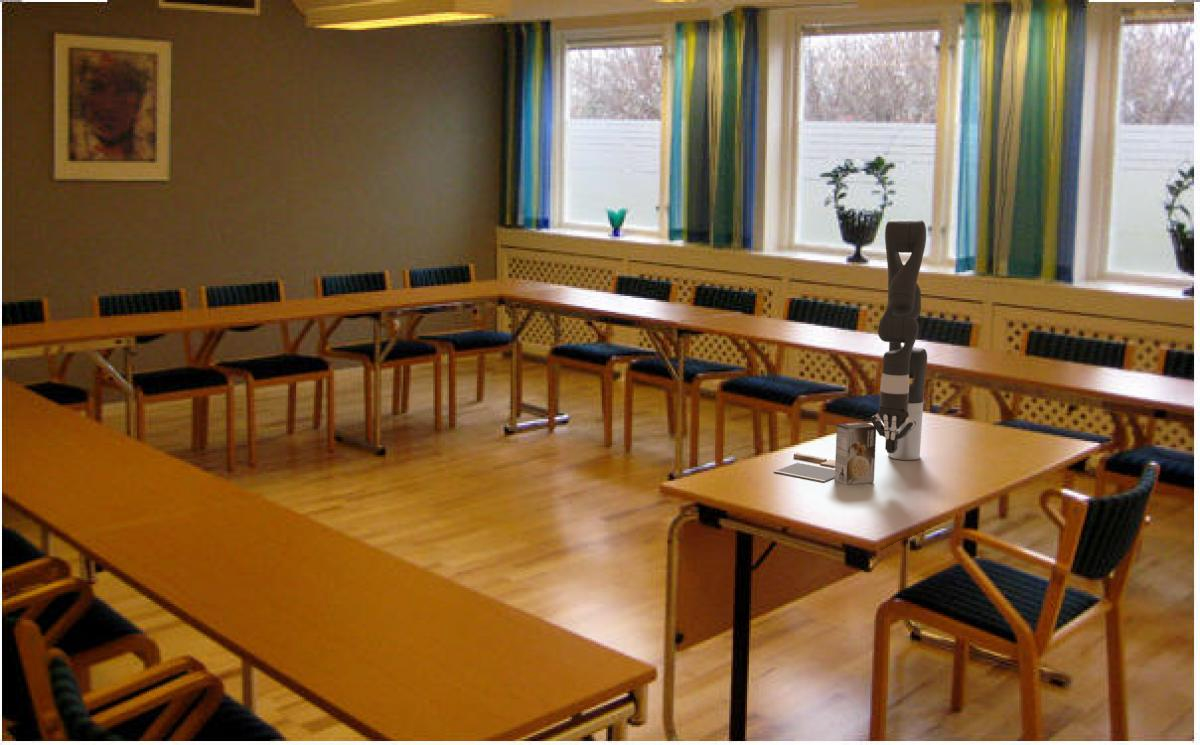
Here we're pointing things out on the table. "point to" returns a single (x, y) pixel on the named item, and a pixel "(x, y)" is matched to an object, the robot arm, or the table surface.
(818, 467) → the mat
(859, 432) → the coffee box
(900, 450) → the robot arm
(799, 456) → the walnut turner
